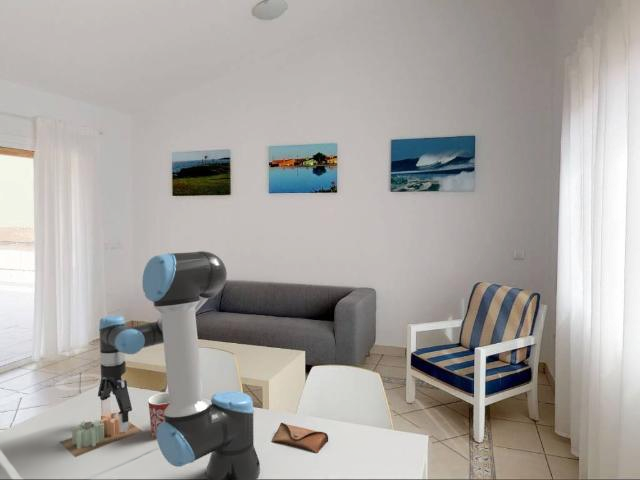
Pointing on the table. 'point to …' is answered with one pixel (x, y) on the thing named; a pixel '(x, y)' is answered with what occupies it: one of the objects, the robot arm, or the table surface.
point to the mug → (157, 410)
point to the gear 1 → (87, 434)
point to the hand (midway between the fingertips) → (114, 424)
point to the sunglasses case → (300, 437)
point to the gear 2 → (110, 424)
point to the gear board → (107, 440)
